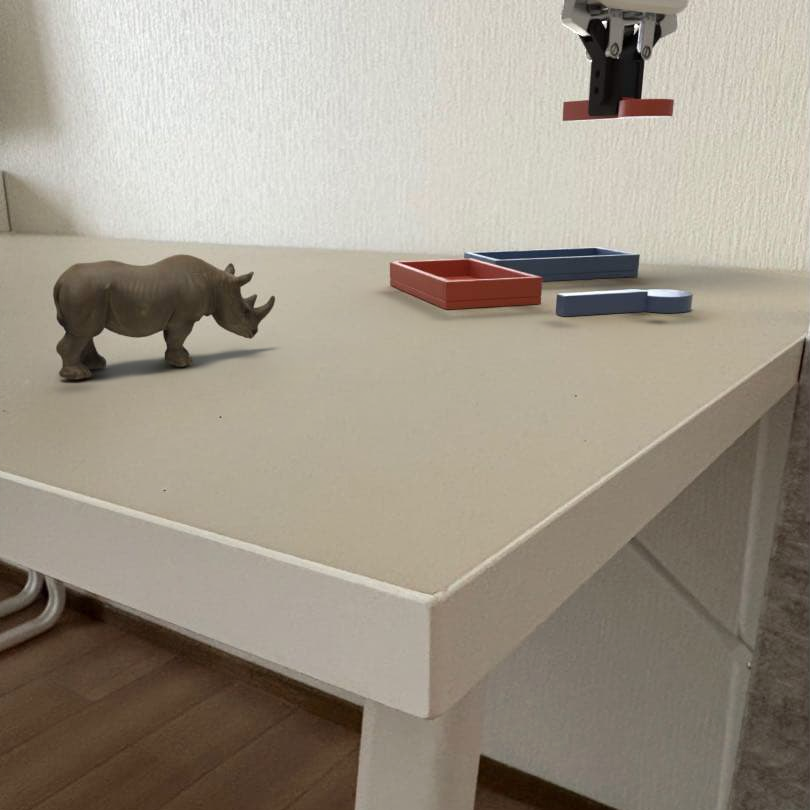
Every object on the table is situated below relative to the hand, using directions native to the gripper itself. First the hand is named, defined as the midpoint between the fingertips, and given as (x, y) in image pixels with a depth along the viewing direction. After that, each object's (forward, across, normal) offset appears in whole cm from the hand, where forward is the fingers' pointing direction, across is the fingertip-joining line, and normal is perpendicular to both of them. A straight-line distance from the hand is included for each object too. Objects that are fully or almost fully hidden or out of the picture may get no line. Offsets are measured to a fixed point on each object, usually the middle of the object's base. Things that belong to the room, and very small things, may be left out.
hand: (613, 114), depth 73 cm
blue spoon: (+14, -7, -9) cm, 18 cm away
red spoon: (0, 0, 0) cm, 1 cm away
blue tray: (+14, +3, +10) cm, 18 cm away
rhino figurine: (+14, -42, -8) cm, 45 cm away
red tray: (+14, -12, +5) cm, 19 cm away
